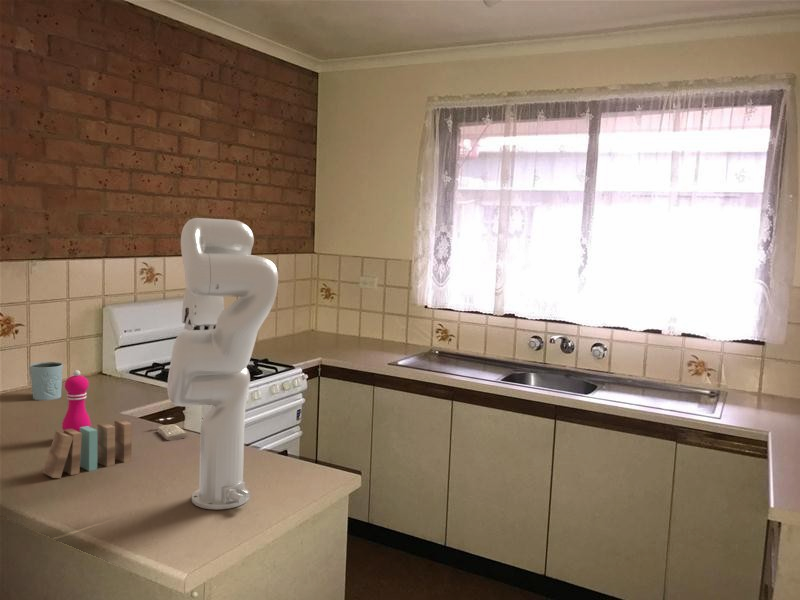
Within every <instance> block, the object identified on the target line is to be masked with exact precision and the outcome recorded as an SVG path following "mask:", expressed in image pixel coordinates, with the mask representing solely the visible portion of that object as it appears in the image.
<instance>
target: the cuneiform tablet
mask: <svg viewBox="0 0 800 600" xmlns="http://www.w3.org/2000/svg"><path fill="white" fill-rule="evenodd" d="M173 419H176V417H173V416H172V417H167V418H166V417H165V418H159V419H154V420H155V422H160V421H165V420H166V421H167V420H173ZM157 432H158V434H159V435H160V436H161V437H162V438H164V440H166V441H170V442H171V441H177V440H182V439H184V438H187V436H188V434H187V432H186V430H184V429H183V428H181V427H180V426H179V425H177V424H176V423H175V424H165V425H160V426H157Z"/></svg>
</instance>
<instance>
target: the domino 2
mask: <svg viewBox="0 0 800 600" xmlns="http://www.w3.org/2000/svg"><path fill="white" fill-rule="evenodd" d="M63 432H64V433H66V434H69V435H71V436H73V440H72V443H71V446H70V449H69V453H68V456H67V459H66V462H65V465H64V469H63V472H64V473H66V474H68V475H70V476H75V475H79V474H80V470H81V469H80V468H81V467H80V455H81V438H82V433H80V432H78V431H76V430H73V429H67V430H63Z"/></svg>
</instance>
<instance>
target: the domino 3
mask: <svg viewBox="0 0 800 600" xmlns="http://www.w3.org/2000/svg"><path fill="white" fill-rule="evenodd" d="M80 433H82V438H81V455H80V468H81V469H84V470H85V471H88V472H93V471H97V470H98V462H97V435H98V430H97V428H94V427H89V426H85V427H80Z"/></svg>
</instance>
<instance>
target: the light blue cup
mask: <svg viewBox="0 0 800 600" xmlns="http://www.w3.org/2000/svg"><path fill="white" fill-rule="evenodd" d="M63 364H64V363H63V362H57V361H44V362H43V361H42V362H36V363H32V364H30V365H29V373H30V375H29V376H30V382H31V384H30V385H31V392H32V393H31V394H32V399H33V400H34V399H35V401H41V400H44V401H52V400H53V401H54V400H58V399H60V398H62V385H63V366H64V365H63Z"/></svg>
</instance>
